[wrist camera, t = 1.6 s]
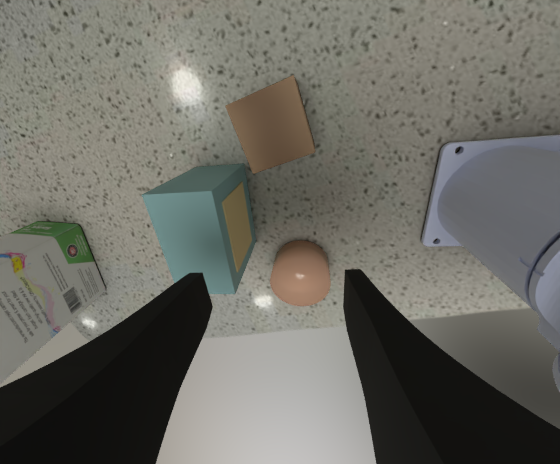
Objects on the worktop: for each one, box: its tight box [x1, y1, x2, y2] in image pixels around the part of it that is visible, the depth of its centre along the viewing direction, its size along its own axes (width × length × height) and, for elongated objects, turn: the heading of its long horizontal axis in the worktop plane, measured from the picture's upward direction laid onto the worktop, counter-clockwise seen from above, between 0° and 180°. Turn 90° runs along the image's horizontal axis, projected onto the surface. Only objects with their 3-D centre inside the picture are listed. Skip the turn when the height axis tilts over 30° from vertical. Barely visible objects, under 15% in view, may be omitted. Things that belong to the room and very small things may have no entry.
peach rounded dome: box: [270, 240, 330, 306], centre depth 21 cm, size 5×5×3 cm
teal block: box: [142, 164, 256, 294], centre depth 17 cm, size 4×7×7 cm, turn 5°
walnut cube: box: [226, 75, 315, 174], centre depth 15 cm, size 4×4×4 cm
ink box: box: [0, 221, 106, 384], centre depth 20 cm, size 8×5×12 cm, turn 178°
